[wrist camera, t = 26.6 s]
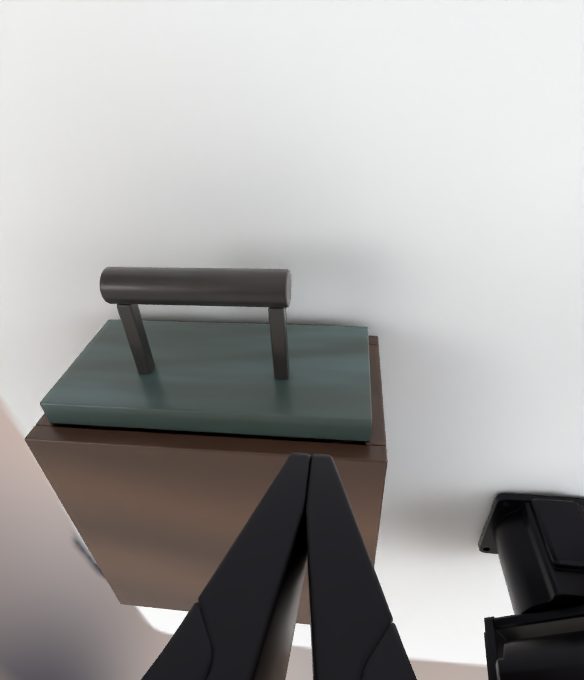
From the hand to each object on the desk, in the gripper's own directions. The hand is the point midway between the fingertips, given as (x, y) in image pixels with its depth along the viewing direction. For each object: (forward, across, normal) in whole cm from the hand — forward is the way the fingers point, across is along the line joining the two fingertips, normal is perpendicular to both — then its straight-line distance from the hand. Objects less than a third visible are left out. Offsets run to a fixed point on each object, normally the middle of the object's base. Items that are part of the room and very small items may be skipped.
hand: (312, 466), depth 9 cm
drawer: (+12, +5, +9) cm, 16 cm away
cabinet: (+13, +5, +13) cm, 19 cm away
